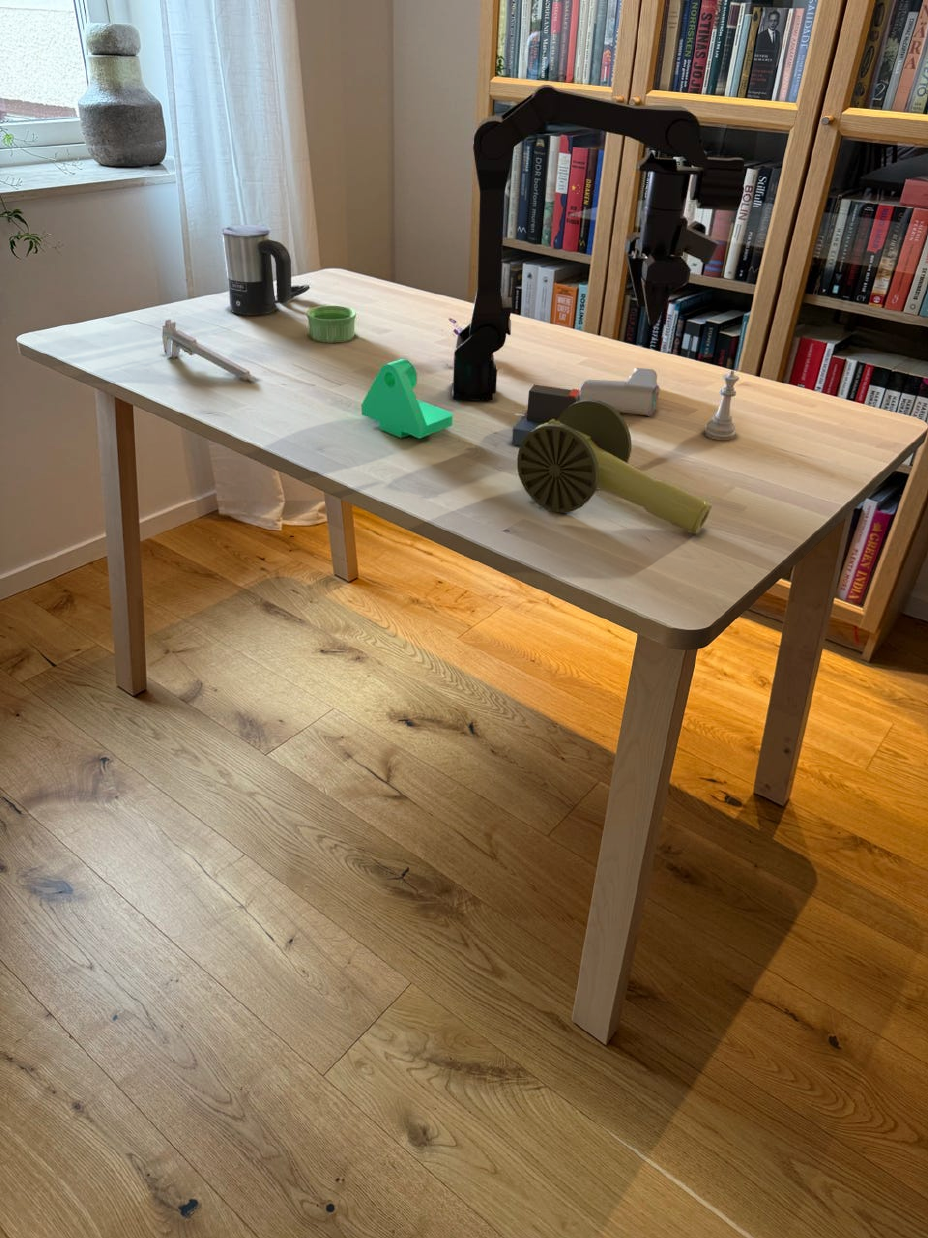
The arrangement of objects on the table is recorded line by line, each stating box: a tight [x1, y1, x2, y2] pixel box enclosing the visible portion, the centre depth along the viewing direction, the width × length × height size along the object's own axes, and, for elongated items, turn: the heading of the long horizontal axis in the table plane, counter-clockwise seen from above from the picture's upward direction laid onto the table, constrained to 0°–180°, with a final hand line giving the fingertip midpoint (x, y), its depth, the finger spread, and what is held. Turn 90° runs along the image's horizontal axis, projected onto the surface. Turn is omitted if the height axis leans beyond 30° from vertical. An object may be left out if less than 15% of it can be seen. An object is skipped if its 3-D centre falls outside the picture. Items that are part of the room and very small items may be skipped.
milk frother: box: [220, 224, 311, 316], centre depth 184 cm, size 14×16×15 cm
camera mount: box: [360, 358, 454, 439], centre depth 138 cm, size 12×8×10 cm, turn 48°
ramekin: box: [305, 304, 357, 344], centre depth 173 cm, size 9×9×4 cm
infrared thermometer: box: [579, 367, 660, 416], centre depth 153 cm, size 5×12×15 cm
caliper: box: [161, 319, 256, 382], centre depth 156 cm, size 20×1×6 cm, turn 56°
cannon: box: [516, 399, 713, 535], centre depth 118 cm, size 25×12×11 cm, turn 58°
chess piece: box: [704, 370, 740, 441], centre depth 140 cm, size 4×4×10 cm
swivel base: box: [511, 410, 544, 447], centre depth 139 cm, size 13×11×3 cm
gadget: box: [526, 383, 581, 423], centre depth 137 cm, size 7×3×5 cm, turn 71°
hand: (646, 315), depth 144 cm, fingers open, 9 cm apart
